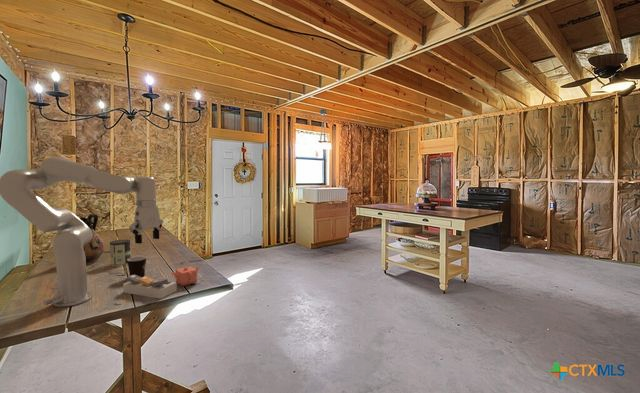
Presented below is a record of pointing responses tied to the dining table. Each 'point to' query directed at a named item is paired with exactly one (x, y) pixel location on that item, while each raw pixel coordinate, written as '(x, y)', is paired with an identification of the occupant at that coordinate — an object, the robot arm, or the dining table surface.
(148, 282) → the rocker
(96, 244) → the ceramic jug
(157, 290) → the power strip
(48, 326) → the dining table surface
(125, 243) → the coffee can
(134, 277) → the rocker
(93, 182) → the robot arm
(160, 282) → the rocker
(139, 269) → the coffee mug
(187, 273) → the teapot
